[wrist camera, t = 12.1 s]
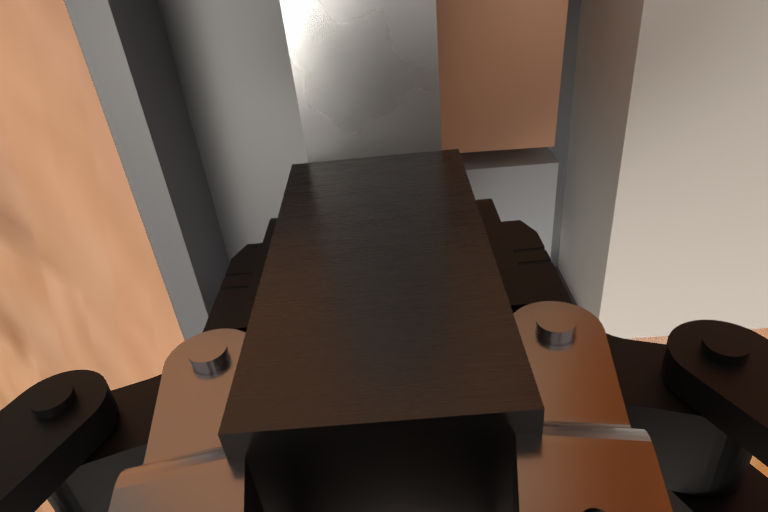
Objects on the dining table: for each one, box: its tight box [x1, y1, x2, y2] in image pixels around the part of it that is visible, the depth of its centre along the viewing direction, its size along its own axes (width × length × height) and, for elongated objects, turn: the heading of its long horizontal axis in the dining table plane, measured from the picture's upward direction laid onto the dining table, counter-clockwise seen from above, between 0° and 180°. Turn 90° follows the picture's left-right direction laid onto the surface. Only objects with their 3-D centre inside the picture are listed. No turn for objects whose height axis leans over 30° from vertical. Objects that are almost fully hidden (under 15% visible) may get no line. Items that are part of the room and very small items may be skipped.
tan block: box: [436, 0, 568, 153], centre depth 15 cm, size 4×4×3 cm
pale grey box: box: [460, 147, 559, 257], centre depth 17 cm, size 4×4×3 cm
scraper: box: [218, 0, 545, 512], centre depth 10 cm, size 16×3×9 cm, turn 5°
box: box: [64, 0, 581, 341], centre depth 17 cm, size 14×13×4 cm
